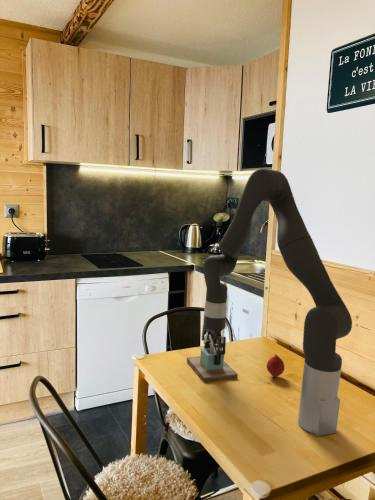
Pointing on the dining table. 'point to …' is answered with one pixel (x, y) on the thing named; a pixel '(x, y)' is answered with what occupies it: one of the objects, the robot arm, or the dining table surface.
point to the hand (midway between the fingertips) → (211, 359)
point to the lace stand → (211, 374)
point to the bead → (209, 360)
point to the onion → (275, 366)
